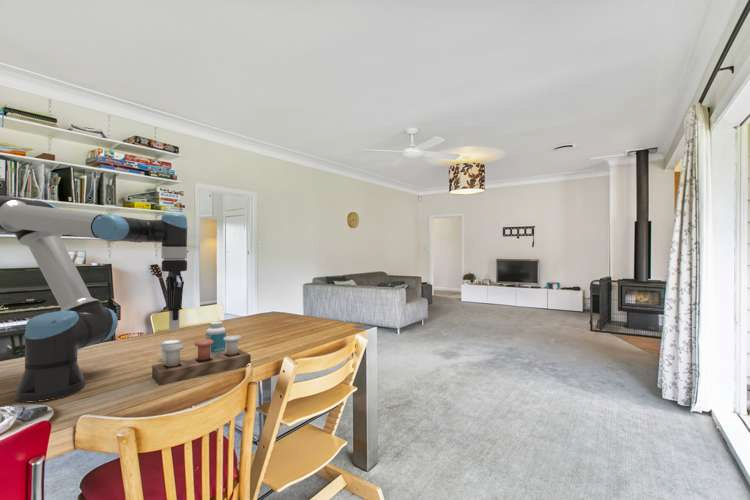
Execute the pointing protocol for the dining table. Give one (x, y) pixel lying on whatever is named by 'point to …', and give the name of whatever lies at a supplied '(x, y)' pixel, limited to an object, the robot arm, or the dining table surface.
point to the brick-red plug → (204, 349)
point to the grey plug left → (172, 354)
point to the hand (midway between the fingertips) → (174, 329)
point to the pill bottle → (216, 337)
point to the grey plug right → (232, 344)
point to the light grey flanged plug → (168, 342)
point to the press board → (199, 367)
